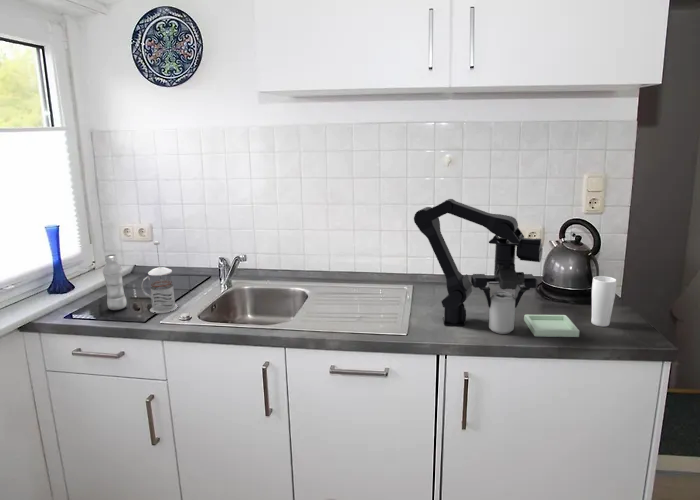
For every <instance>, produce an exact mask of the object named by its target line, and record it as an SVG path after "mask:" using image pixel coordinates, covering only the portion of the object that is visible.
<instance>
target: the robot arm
mask: <svg viewBox="0 0 700 500" xmlns="http://www.w3.org/2000/svg"><path fill="white" fill-rule="evenodd" d="M447 214H449V215H451V216H455V217H457V218H459V219H460V218H461V219H462V220H466V221H468V222H470V223H474V224H477V225H479V226H482V227H484V228H485V229H486V230H488V231H489V232H490V233H492V234H494V235H493V237H492V238H491V239H490V240H489V241H488V244H490V245H493V244H494V245H495V249H494V251H495V252H494V254H495V255H494V271H493V276H492V277H491V276H490V277H487V276H486V275H485V273H473V274H471V276H470V277H471V279H470V278H469V275H468V274H464V275H463V274H462V272H460V271H459V269H458V266H457V264H456V263H455V259H454V258H453V255H452V253H451V251H450V249H449V248H448V245H447V243H446V241H445V239H444V236H443V234H442V232H441V231H442V230H441V221H440V219H439V218H440V217H442V216H444V215H447ZM413 221H414V224H415V225H416V227H417V228H418V230H419V231H420V232H421V234H423V235H424V236H425V237H426V238H427V240H428V242H429V244H430V246H431V249H432V251H433V253H434V256H435V258H436V260H437V262H438V263H439V266H440V268H441V271H442V272H443V275H444V277H445V285H446V291H447V295H446V296H445V297H444V298H443V299H442V300H441V305H442V307H443V316H442V322H443V325H444V326H451V327H452V326H456V327H457V326H458V327H459V326H461V327H462V326H463V327H464V326H466V325H465V324H466V320H467V319H466V318H467V310H466V308H465V304H464V303H465V302H466V300H467V299H468V298H469V297H470V296H471V295H472V292H473V288H477V289H479V290H480V291H483V293H484V296H485V300H486V303H487V307H488V308H489V309H490V305H491V301H490V297H491V288H490V286H489V285H490V284H494V285H497V284H498V285H499V288H500V289H501V290H515V291H514V298H515V309H517V307H518V305H519V303H520V301H521V298H522V297H523V295H524V293H525V292H527V291H530V290H531V289H536V288H538V279H537V278H536V277H535V276H534V275H533V274H532V273H524V272H523V271H516V263H515V262H516V261H515V259H516V257H517V259H519V261H523V262H534V263H541V261H542V256H543V243H542V238H528V237H525V235H524V234H523V232H522V231H521V230H520V228H519V223H518V220H517V219H516V218H515V217H513V216H512V215H507V214H506V215H505V214H499V213H490V212H487V211H484V210H482V209H479V208H476V207H473V206H470V205H468V204H465V203H462V202H460V201H457V200H455V199H453V198H448V199H446V200H444V201H442V202H441V203H439V204H437V205H435V206H433V207H431V206H427V207H424V208H422V209H419V210H418V211H416V212H415V213H414V216H413Z"/></svg>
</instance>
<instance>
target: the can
mask: <svg viewBox="0 0 700 500" xmlns="http://www.w3.org/2000/svg"><path fill="white" fill-rule="evenodd" d="M490 301H491V305H490V308H489V310H488V311H489V313H488V328H489V330H491V331H492V332H493V333H495V334H500V335H507V334H511V332H512V331H514V329H515V313H516V308H515V294H513V293H512V292H510V291H505V290H498V291H494V292H492V295H490Z"/></svg>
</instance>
